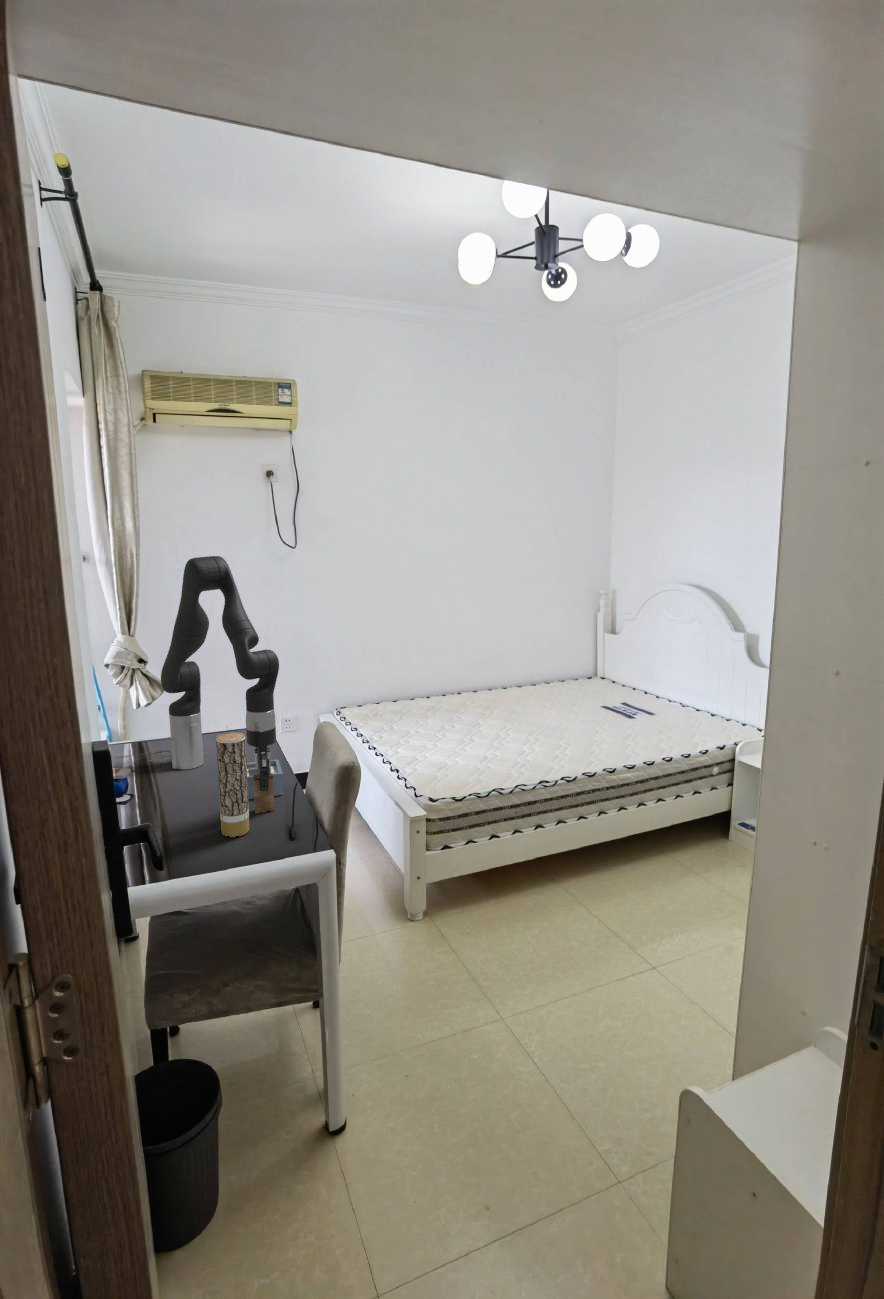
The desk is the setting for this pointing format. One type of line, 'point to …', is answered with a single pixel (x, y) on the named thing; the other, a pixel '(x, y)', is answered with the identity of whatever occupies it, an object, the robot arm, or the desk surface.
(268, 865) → the desk surface
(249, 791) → the blue open box
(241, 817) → the bark log cylinder
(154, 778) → the desk surface
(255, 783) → the wooden plank
